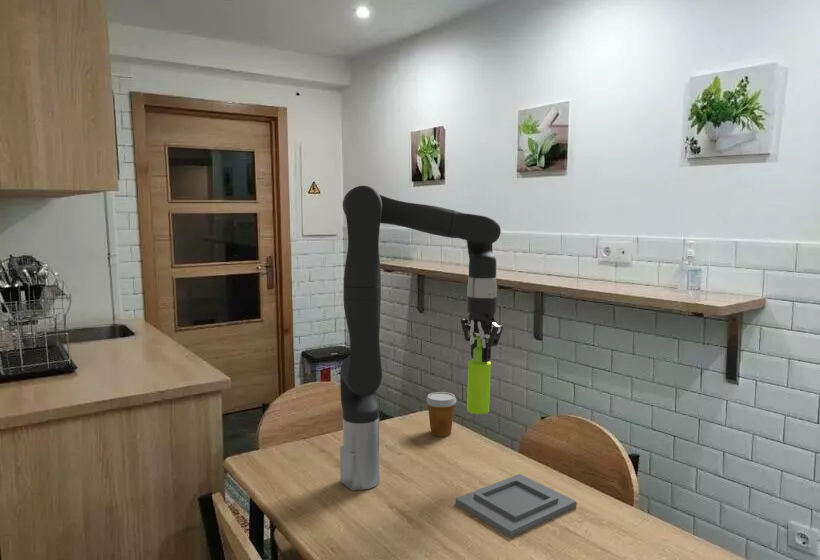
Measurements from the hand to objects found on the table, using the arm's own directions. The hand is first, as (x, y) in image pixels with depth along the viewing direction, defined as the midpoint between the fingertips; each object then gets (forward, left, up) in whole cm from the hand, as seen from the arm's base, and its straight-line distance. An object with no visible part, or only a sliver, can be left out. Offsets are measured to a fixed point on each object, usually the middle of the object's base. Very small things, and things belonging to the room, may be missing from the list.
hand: (480, 359), depth 152 cm
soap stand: (-5, -18, -31) cm, 36 cm away
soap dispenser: (0, 0, -14) cm, 14 cm away
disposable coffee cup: (+10, +28, -31) cm, 43 cm away
